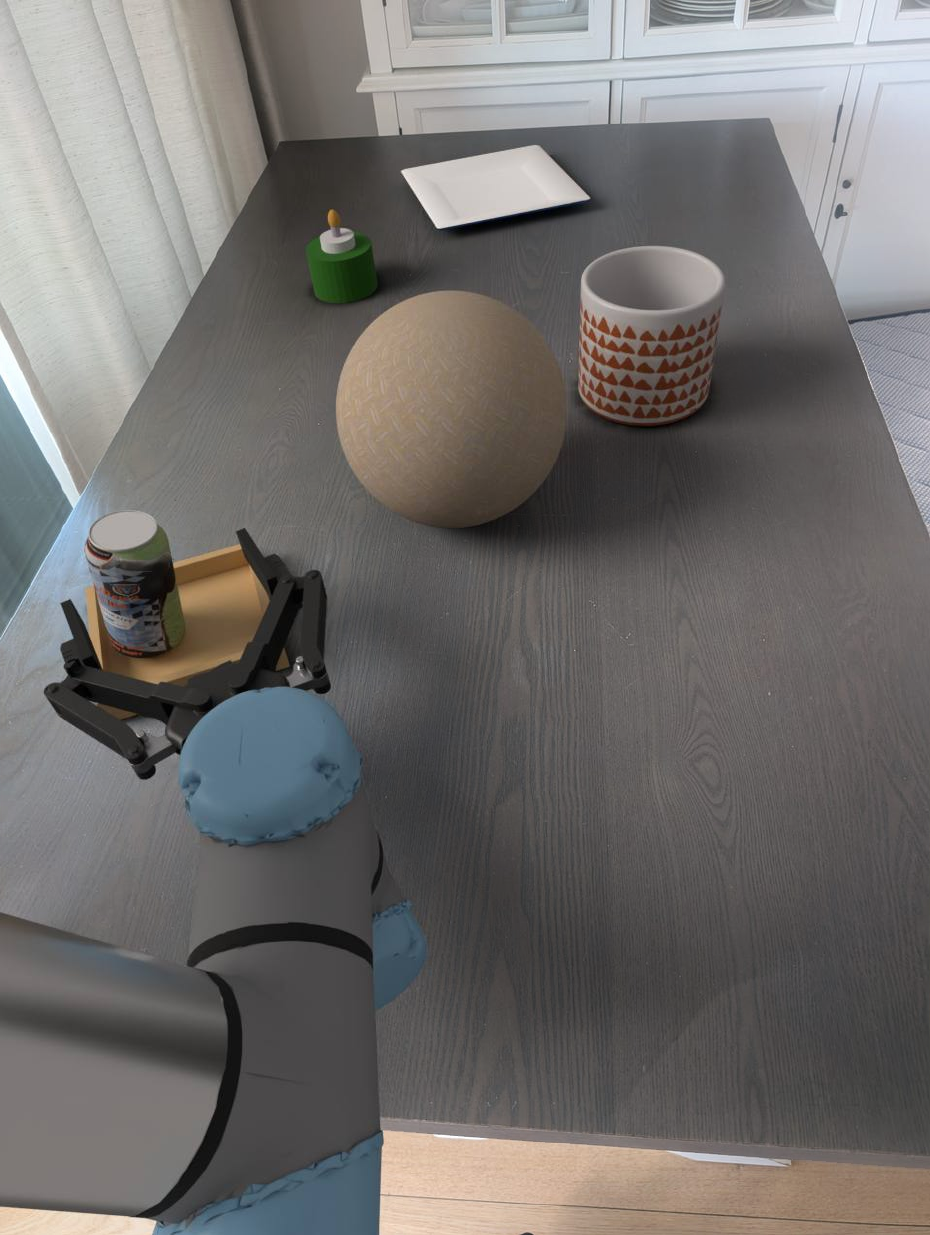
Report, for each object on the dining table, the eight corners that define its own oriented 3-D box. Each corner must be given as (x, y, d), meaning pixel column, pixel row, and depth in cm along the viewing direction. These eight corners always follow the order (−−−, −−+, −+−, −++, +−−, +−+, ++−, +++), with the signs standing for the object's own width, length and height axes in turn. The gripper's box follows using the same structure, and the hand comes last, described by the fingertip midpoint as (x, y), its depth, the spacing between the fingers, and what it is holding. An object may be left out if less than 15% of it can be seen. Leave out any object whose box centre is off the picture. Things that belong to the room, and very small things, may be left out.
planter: (611, 441, 90) (618, 325, 80) (558, 374, 99) (559, 262, 90) (733, 408, 92) (753, 292, 83) (670, 345, 101) (682, 234, 92)
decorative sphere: (379, 597, 77) (338, 399, 63) (339, 463, 91) (298, 274, 76) (597, 543, 80) (607, 341, 65) (527, 421, 93) (522, 230, 79)
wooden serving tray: (108, 724, 70) (95, 703, 68) (96, 608, 79) (85, 587, 77) (289, 667, 73) (283, 645, 71) (258, 561, 81) (251, 540, 80)
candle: (328, 270, 120) (313, 194, 113) (386, 274, 118) (375, 196, 111) (304, 300, 115) (287, 222, 107) (364, 305, 113) (351, 226, 105)
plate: (590, 212, 126) (591, 197, 125) (438, 242, 123) (437, 227, 122) (538, 157, 141) (538, 143, 140) (401, 182, 138) (400, 168, 137)
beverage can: (104, 639, 75) (45, 532, 67) (182, 596, 78) (136, 488, 69) (135, 682, 72) (78, 575, 63) (216, 635, 75) (172, 527, 66)
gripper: (85, 906, 54) (17, 678, 67) (443, 722, 61) (319, 549, 75) (33, 845, 49) (-31, 610, 62) (433, 651, 56) (301, 478, 69)
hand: (161, 576), depth 68 cm, fingers open, 13 cm apart
